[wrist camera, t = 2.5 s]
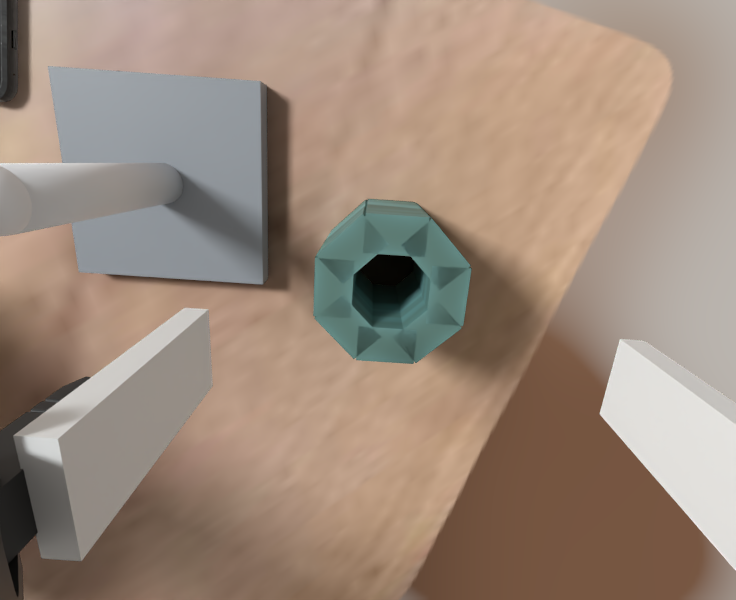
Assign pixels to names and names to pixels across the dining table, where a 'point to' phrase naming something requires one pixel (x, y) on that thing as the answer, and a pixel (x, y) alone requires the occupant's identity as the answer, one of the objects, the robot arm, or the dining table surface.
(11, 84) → the phone
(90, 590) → the dining table surface
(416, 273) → the bead
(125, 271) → the spindle plate
